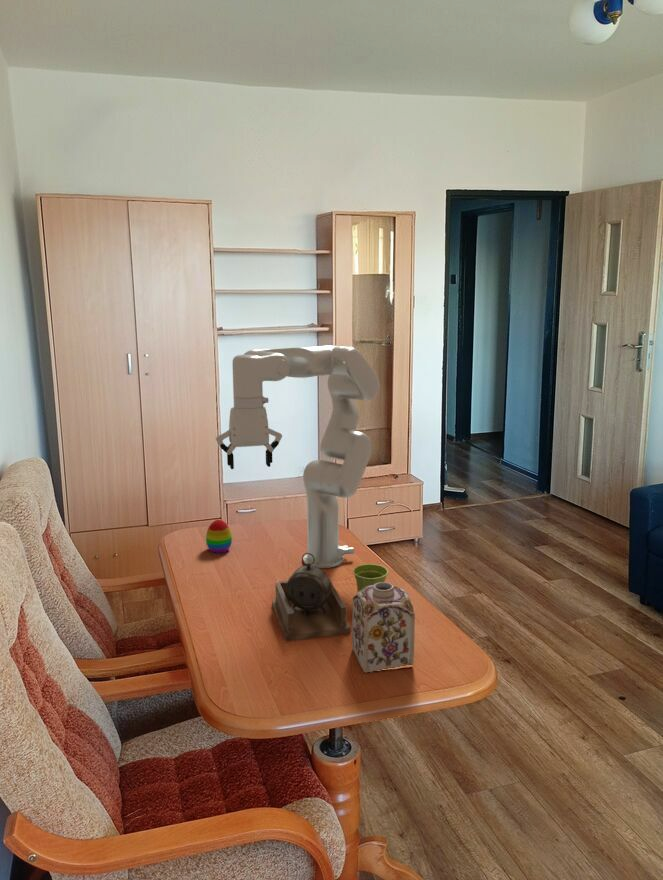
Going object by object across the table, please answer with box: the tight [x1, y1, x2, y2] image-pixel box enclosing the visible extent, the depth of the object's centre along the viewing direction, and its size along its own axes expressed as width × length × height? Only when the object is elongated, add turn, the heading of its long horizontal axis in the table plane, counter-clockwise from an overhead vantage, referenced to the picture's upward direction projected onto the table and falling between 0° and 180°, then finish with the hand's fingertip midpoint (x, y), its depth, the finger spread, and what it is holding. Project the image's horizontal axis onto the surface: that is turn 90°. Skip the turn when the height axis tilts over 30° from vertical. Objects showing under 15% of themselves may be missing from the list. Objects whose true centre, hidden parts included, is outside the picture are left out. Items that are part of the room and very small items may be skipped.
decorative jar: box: [351, 581, 416, 674], centre depth 163 cm, size 12×12×18 cm
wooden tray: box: [271, 578, 351, 642], centre depth 183 cm, size 16×20×6 cm
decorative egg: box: [205, 519, 233, 554], centre depth 229 cm, size 8×8×10 cm
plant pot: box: [352, 563, 389, 593], centre depth 193 cm, size 9×9×9 cm
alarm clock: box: [287, 552, 332, 616], centre depth 182 cm, size 11×5×16 cm, turn 71°
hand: (250, 466), depth 190 cm, fingers open, 9 cm apart
